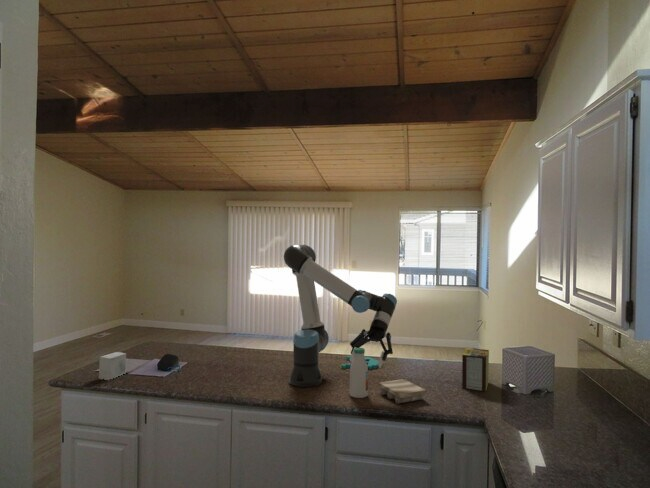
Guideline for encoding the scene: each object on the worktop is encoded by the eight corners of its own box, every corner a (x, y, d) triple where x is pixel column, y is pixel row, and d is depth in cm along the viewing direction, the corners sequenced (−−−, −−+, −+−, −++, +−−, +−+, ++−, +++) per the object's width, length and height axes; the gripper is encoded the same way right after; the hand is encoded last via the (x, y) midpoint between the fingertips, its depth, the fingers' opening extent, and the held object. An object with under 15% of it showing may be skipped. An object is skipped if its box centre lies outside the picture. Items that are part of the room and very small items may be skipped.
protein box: (488, 382, 204) (489, 349, 204) (486, 392, 190) (486, 357, 190) (465, 379, 208) (466, 347, 208) (461, 388, 194) (461, 354, 194)
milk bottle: (362, 399, 178) (363, 351, 178) (346, 396, 182) (347, 349, 182) (370, 394, 184) (371, 348, 185) (354, 391, 189) (355, 345, 189)
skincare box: (109, 380, 198) (109, 358, 198) (98, 379, 200) (98, 356, 200) (126, 374, 208) (126, 352, 208) (115, 372, 210) (116, 351, 210)
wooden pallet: (378, 393, 186) (378, 382, 187) (403, 389, 192) (403, 379, 192) (400, 405, 172) (400, 394, 172) (426, 400, 178) (426, 390, 178)
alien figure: (341, 369, 223) (379, 372, 219) (341, 365, 223) (379, 368, 219) (347, 359, 242) (382, 362, 238) (347, 355, 242) (382, 358, 238)
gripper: (408, 331, 192) (394, 373, 180) (359, 325, 206) (343, 363, 194) (403, 321, 188) (388, 363, 176) (353, 315, 202) (337, 354, 189)
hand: (364, 363), depth 185 cm, fingers open, 13 cm apart
